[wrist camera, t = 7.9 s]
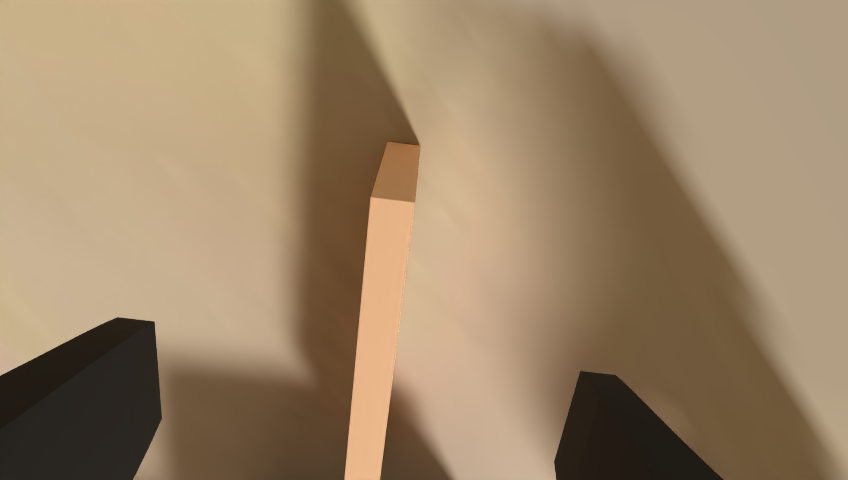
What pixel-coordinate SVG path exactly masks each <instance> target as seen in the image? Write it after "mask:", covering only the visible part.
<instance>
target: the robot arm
mask: <svg viewBox="0 0 848 480" xmlns="http://www.w3.org/2000/svg"><path fill="white" fill-rule="evenodd" d="M161 419H162V414H161V401H160V388H159V375H158V362H157V349H156V336H155V322H153V321H145V320H136V319H127V318H119V317H117V318H115V319H113V320H110V321H108V322H106V323H104V324H102V325H99V326H97V327H95V328H93V329H91V330H89V331H87V332H85V333H83V334H81V335H79V336H77V337H75V338H73V339H71V340H69V341H67V342H65V343H64V344H62V345H60V346H58V347H56V348H54V349H52V350H50V351H48V352H46V353H44V354H42V355H40V356H38V357H36V358H34V359H32V360H30V361H28V362H27V363H25V364H23V365H21V366H19V367H17V368H15V369H13V370H11V371H9V372H7V373H5V374H3V375H1V376H0V480H132V479H133V478H134V476H135V475H136V473H137V471H138V468H139V466H140V464H141V462H142V460H143V458H144V456H145V454H146V452H147V450H148V448H149V446H150V443H151V441H152V439H153V437H154V435H155V432H156V430H157V428H158V426H159V423H160V421H161ZM554 463H555V472H556V480H723V479H722V478H721V477H720V476H719V475H718V474H717V473H716V472H714V471H713V470H712V469H711V468H710V467H709V466H708V465H707V464H706V463H705V462H704V461H703V460H702V459H701V458H700V457H699V456H698V455H697V454H696V453H695V452H694V451H693V450H692V449H690V448H689V447H688V446H687V445H686V444H685V443H684V442H683V441H682V440H681V439H680V438H679V437H678V436H677V435H676V434H675V433H674V432H673V431H672V430H671V429H670V428H669V427H668V426H667V425H666V424H665V423H664V422H663V421H662V420H661V419H660V418H659V417H658V416H657V415H656V414H655V413H654V412H653V411H652V410H651V409H650V408H649V407H648V406H647V405H646V404H645V403H644V402H643V401H642V400H641V399H640V398H639V397H638V396H637V395H636V394H635V393H634V392H633V391H632V390H631V389H630V388H629V387H628V386H627V385H626V384H625V383H624V382H623V381H622V380H620V379H619V378H618V377H617V376H616V375H609V374H601V373H592V372H583V371H580V374H579V378H578V381H577V385H576V388H575V392H574V395H573V399H572V402H571V406H570V409H569V412H568V416H567V419H566V423H565V426H564V430H563V433H562V437H561V440H560V444H559V447H558V451H557V454H556V458H555V461H554Z"/></svg>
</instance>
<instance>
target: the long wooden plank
mask: <svg viewBox="0 0 848 480" xmlns="http://www.w3.org/2000/svg"><path fill="white" fill-rule="evenodd" d="M419 154H420V146H418V145H411V144H403V143H395V142H387V145H386V149H385V152H384V155H383V158H382V162H381V165H380V168H379V172H378V175H377V178H376V181H375V185H374V188H373V191H372V194H371V199H370V210H369V221H368V231H367V242H366V253H365V264H364V275H363V285H362V296H361V307H360V318H359V328H358V339H357V350H356V361H355V372H354V382H353V393H352V404H351V415H350V426H349V436H348V447H347V458H346V469H345V479H344V480H380V475H381V467H382V459H383V451H384V443H385V435H386V427H387V419H388V412H389V404H390V396H391V388H392V380H393V372H394V364H395V356H396V348H397V340H398V332H399V325H400V317H401V309H402V301H403V293H404V285H405V277H406V269H407V261H408V253H409V246H410V238H411V230H412V222H413V214H414V206H415V197H416V186H417V176H418V165H419Z"/></svg>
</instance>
